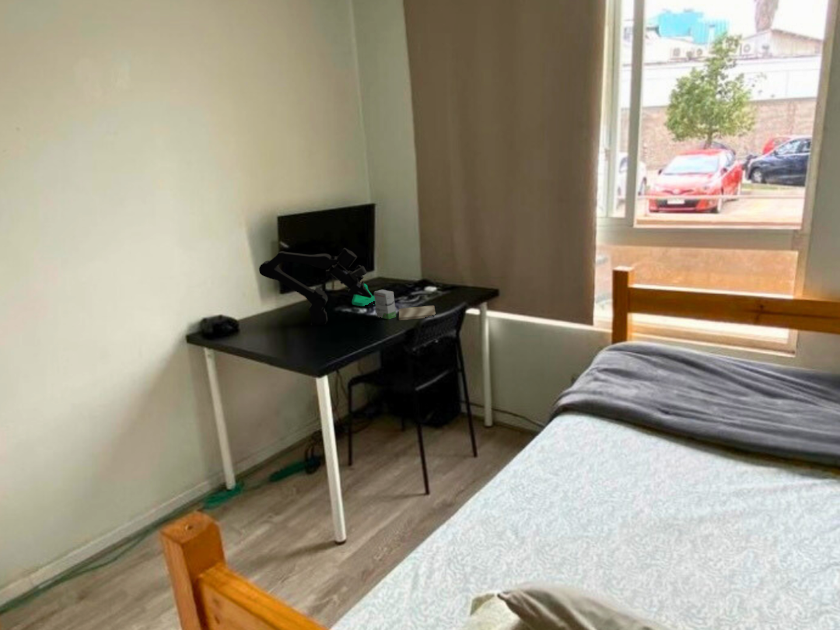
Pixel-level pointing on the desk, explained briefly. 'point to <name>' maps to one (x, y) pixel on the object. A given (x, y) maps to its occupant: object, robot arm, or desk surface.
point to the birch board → (416, 312)
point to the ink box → (385, 304)
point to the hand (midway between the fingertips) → (371, 297)
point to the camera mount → (362, 299)
